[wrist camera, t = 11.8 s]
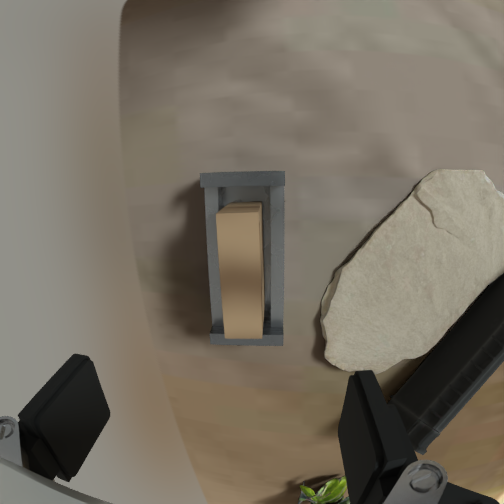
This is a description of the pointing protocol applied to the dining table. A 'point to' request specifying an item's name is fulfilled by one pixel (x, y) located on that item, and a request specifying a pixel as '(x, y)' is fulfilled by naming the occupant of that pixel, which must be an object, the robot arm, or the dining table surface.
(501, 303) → the magazine
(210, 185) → the grey open holder
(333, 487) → the green leafy plant
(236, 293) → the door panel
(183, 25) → the dining table surface
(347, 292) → the stone tablet
